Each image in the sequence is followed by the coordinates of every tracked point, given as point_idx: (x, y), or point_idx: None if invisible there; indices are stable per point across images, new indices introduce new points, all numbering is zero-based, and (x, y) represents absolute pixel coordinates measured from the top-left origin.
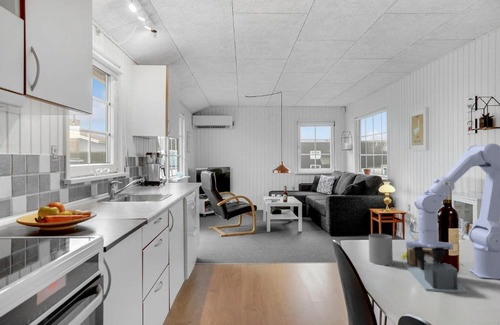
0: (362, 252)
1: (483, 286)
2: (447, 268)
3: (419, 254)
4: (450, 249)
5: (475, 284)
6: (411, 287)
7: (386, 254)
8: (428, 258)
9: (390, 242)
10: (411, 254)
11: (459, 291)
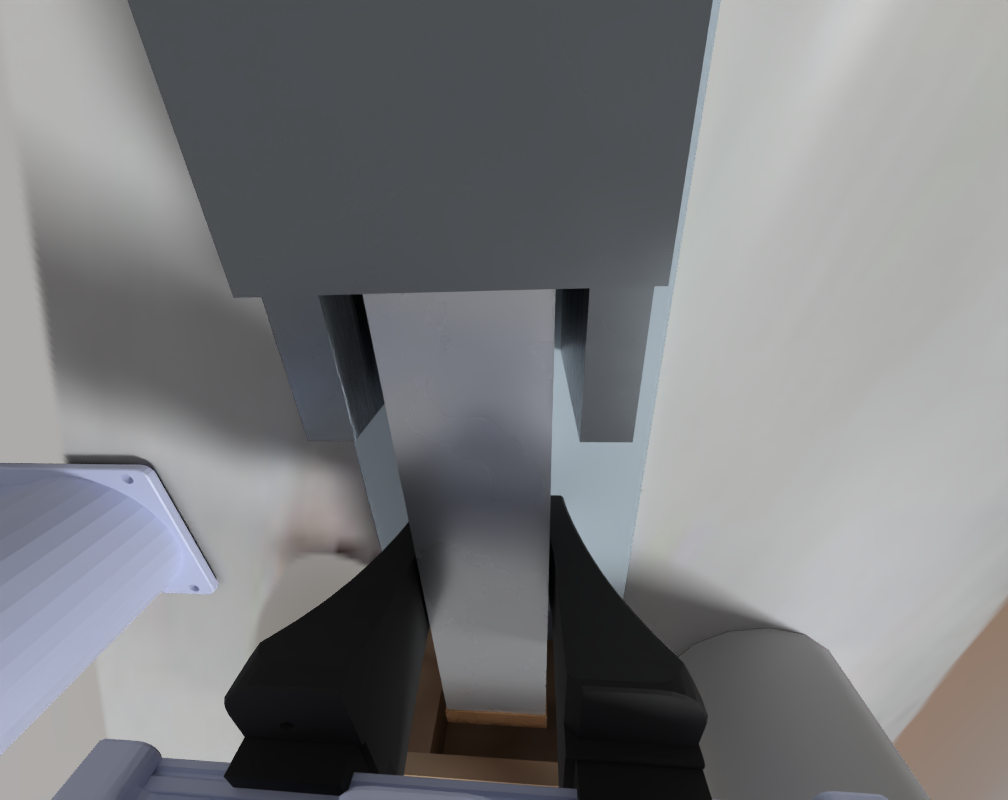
0: None
1: (124, 291)
2: None
3: (643, 638)
4: (135, 745)
5: (184, 329)
6: (839, 89)
7: (788, 729)
8: (482, 623)
9: None
10: None
11: None
